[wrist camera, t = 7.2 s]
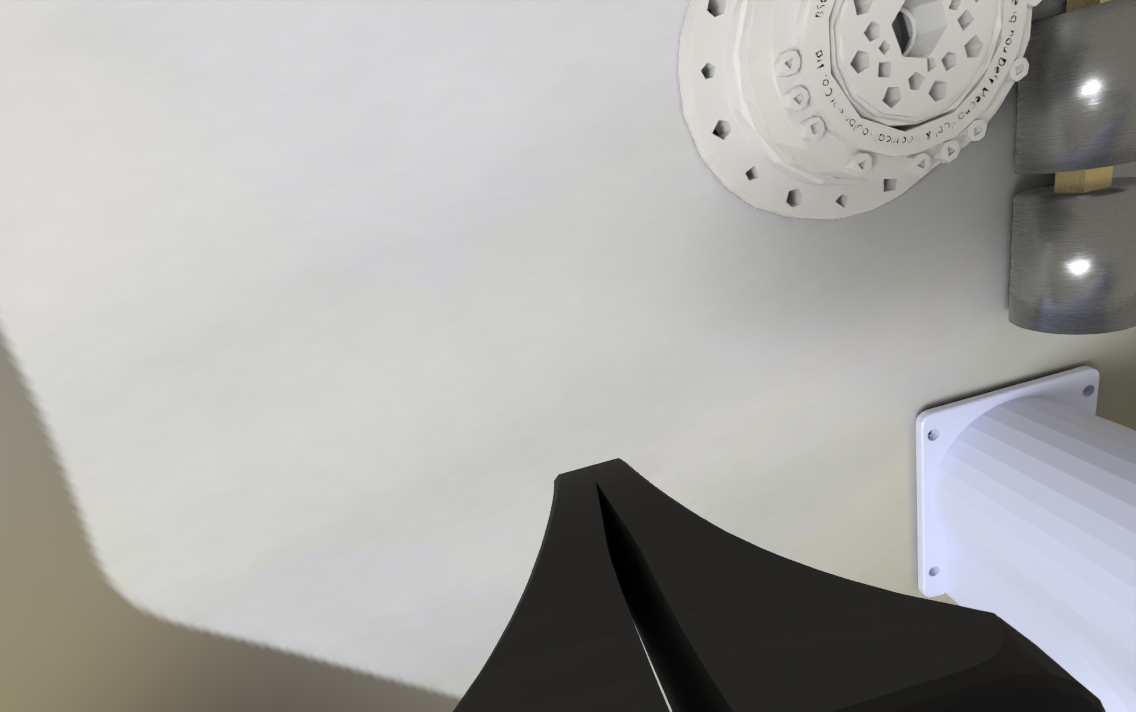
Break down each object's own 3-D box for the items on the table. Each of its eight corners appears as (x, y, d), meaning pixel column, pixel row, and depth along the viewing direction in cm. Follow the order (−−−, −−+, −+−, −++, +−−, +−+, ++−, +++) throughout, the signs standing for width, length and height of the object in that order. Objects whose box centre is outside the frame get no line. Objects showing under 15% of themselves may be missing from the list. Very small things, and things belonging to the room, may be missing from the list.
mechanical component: (988, 124, 19) (906, -189, 16) (1126, 107, 15) (1051, -320, 12) (748, 270, 20) (620, -9, 17) (818, 291, 16) (665, -76, 12)
